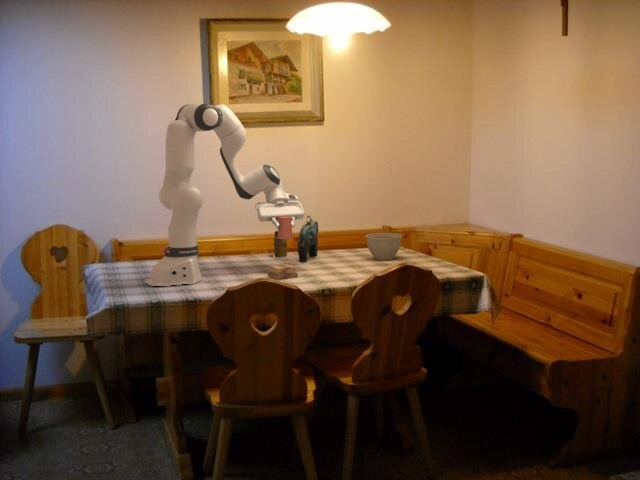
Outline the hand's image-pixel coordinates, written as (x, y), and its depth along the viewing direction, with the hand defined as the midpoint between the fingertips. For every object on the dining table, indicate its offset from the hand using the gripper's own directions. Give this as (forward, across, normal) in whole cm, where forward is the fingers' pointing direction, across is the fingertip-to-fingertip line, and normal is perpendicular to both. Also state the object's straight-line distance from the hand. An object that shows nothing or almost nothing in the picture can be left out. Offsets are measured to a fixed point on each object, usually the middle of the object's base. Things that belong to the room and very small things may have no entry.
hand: (285, 226), depth 321 cm
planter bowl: (+7, +50, +20) cm, 55 cm away
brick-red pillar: (+3, 0, +4) cm, 5 cm away
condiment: (-14, +10, +41) cm, 44 cm away
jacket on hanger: (-4, +20, +31) cm, 37 cm away
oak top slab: (+20, -5, +5) cm, 21 cm away
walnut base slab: (+21, -5, +7) cm, 23 cm away
